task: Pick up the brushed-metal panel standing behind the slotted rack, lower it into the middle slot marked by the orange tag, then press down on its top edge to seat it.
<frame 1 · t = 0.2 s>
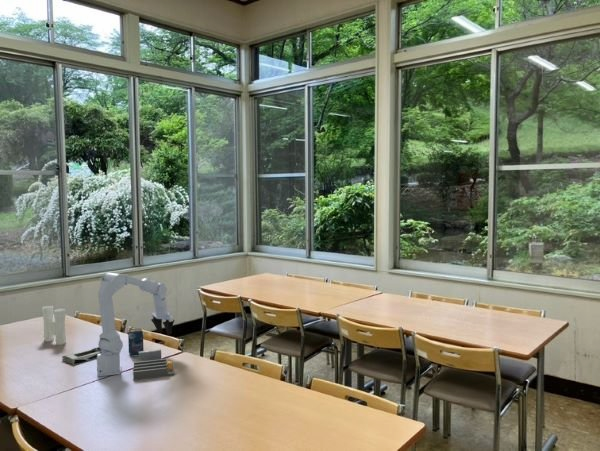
hand: (164, 332, 233), 10 cm above the table, tool pointing down, fingers open, 7 cm apart
panel: (150, 363, 220), on the table
binoculars: (54, 341, 254), on the table
rack: (150, 372, 209), on the table
soda can: (136, 354, 233), on the table
graphics card: (93, 357, 230), on the table
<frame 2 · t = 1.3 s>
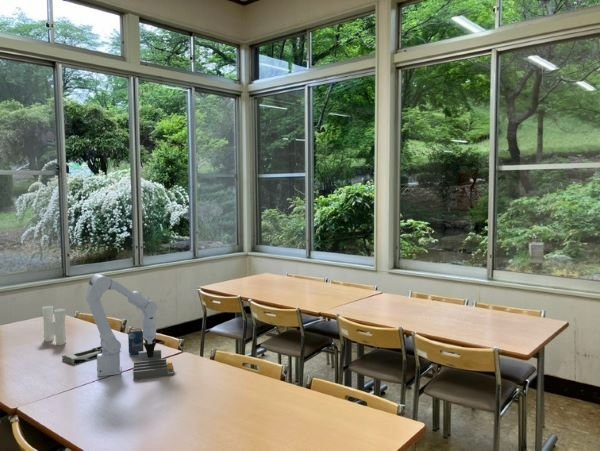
hand: (150, 354, 220), 4 cm above the table, tool pointing down, fingers open, 7 cm apart
nothing on the table moved.
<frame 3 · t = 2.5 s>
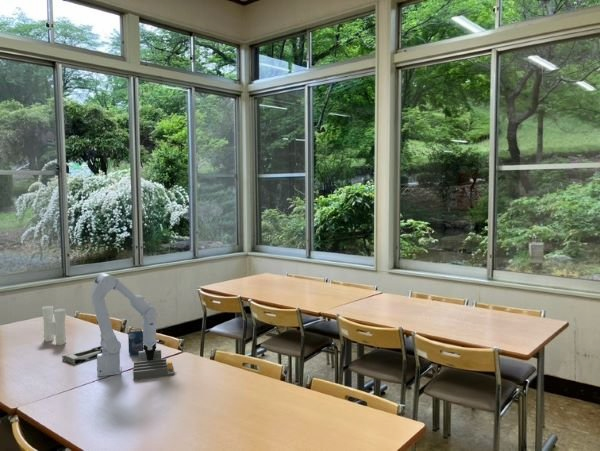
hand: (150, 360, 220), 1 cm above the table, tool pointing down, fingers closed on panel, 2 cm apart
panel: (150, 363, 220), on the table, touching gripper
everything else where it was.
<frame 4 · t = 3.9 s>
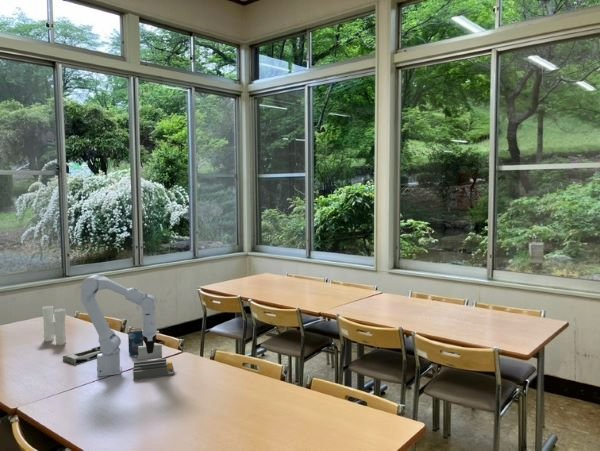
hand: (150, 352, 210), 8 cm above the table, tool pointing down, fingers closed on panel
panel: (150, 358, 211), point 5 cm above the table, touching gripper
everything else where it was.
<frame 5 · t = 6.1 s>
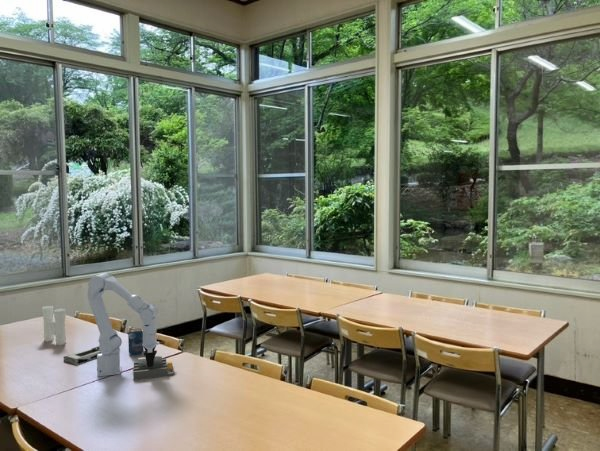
hand: (150, 363, 208), 4 cm above the table, tool pointing down, fingers open, 7 cm apart
panel: (150, 370, 208), point 1 cm above the table, touching rack
everything else where it was.
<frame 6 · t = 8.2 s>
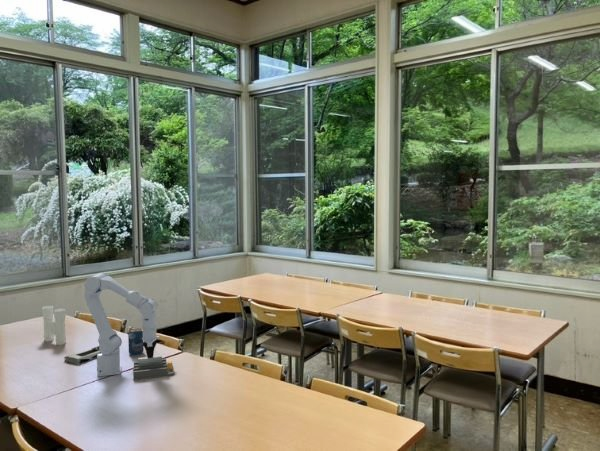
hand: (150, 357, 208), 7 cm above the table, tool pointing down, fingers closed, pressing on panel
panel: (150, 370, 208), point 1 cm above the table, touching gripper, rack
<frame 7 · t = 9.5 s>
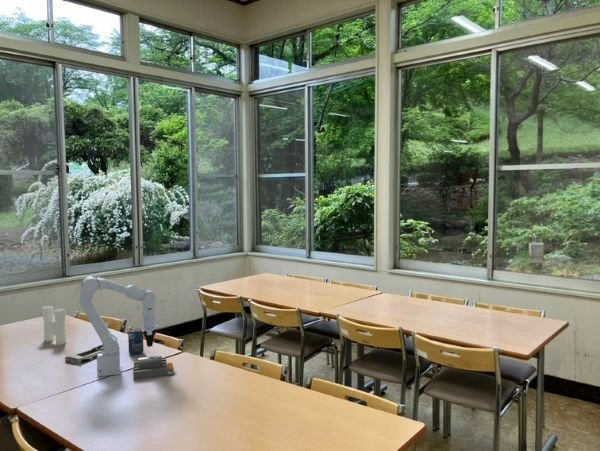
hand: (149, 346, 216), 9 cm above the table, tool pointing down, fingers closed
panel: (150, 370, 208), point 1 cm above the table, touching rack
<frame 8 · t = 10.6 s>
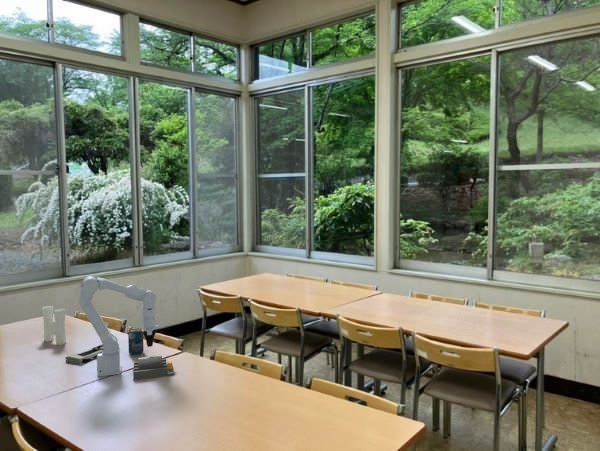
hand: (149, 346, 216), 9 cm above the table, tool pointing down, fingers closed
at the end: panel 0.0 cm off-centre on the rack, point 1.0 cm above the rack's base; panel tilted 0°; the gripper is holding nothing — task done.
